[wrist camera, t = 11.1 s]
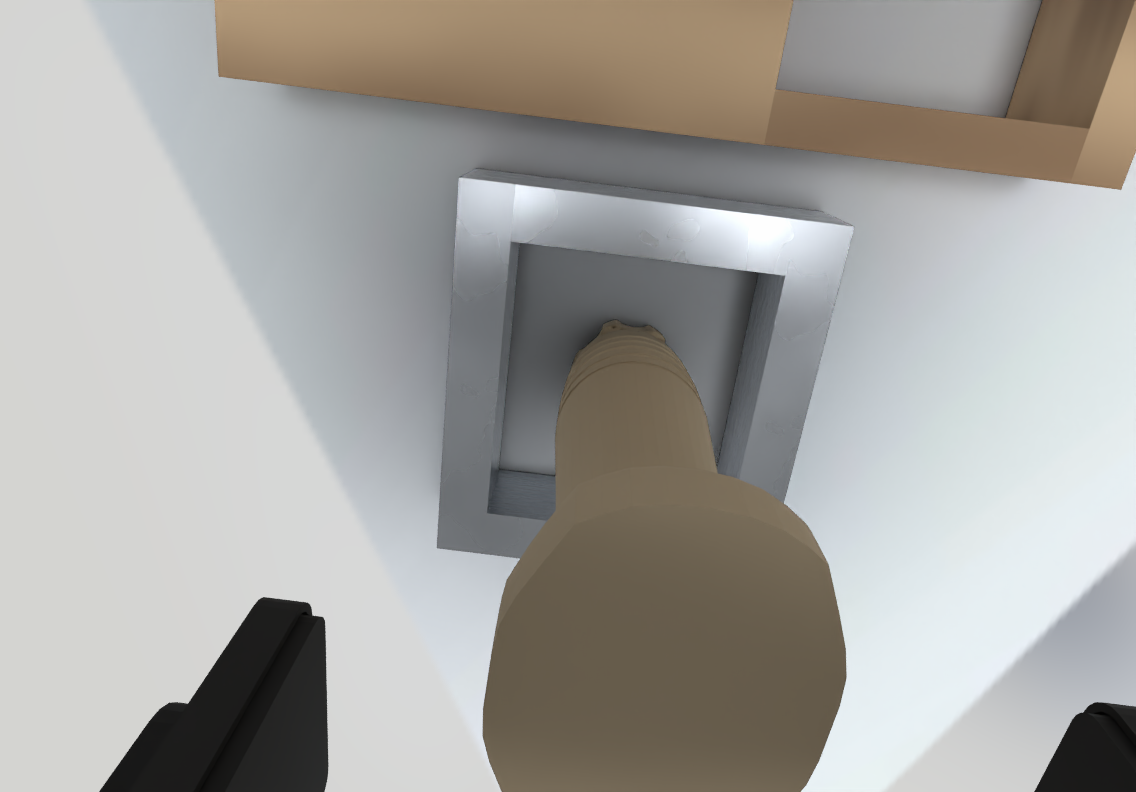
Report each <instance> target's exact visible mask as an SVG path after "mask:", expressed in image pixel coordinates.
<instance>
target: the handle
mask: <svg viewBox="0 0 1136 792" xmlns="http://www.w3.org/2000/svg"><path fill="white" fill-rule="evenodd" d="M555 475H556V511H555V512H554V513H553V515H552V516H551V517H550V518H549V519H548V521H547V522H546V523H545V524H544V526H543V527H542V528H541V530H540V531H539V532H538V534H537V535H536V537H535V538H534V539H533V541H532V542H531V543H530V545H529V546H528V547H527V549H526V551H525V552H524V554H523V555H522V557H521V558H520V560H519V562H518V563H517V565H516V566H515V568H514V569H513V571H512V573H511V574H510V576H509V577H508V579H507V581H506V585H505V588H504V592H503V595H502V599H501V604H500V609H499V614H498V620H497V625H496V631H495V637H494V643H493V648H492V654H491V660H490V667H489V674H488V680H487V687H486V693H485V700H484V707H483V739H484V743H485V747H486V751H487V755H488V759H489V762H490V764H491V767H492V769H493V772H494V774H495V777H496V779H497V781H498V784H499V786H500V789H501V791H502V792H801V790H802V789H803V788H804V787H805V786H806V784H807V783H808V781H809V779H810V777H811V775H812V773H813V771H814V769H815V767H816V765H817V764H818V762H819V759H820V757H821V754H822V752H823V749H824V746H825V744H826V741H827V738H828V736H829V733H830V730H831V728H832V725H833V722H834V720H835V717H836V714H837V712H838V709H839V707H840V703H841V698H842V694H843V690H844V686H845V682H846V648H845V643H844V637H843V632H842V626H841V621H840V615H839V610H838V606H837V601H836V597H835V592H834V587H833V583H832V578H831V574H830V569H829V565H828V563H827V561H826V559H825V557H824V555H823V553H822V551H821V549H820V547H819V545H818V543H817V541H816V540H815V538H814V536H813V534H812V532H811V530H810V529H809V527H808V526H807V525H806V523H805V522H804V521H803V520H802V519H801V518H799V517H798V516H797V515H796V514H795V513H794V512H793V511H792V510H791V509H790V508H789V507H787V506H786V505H785V504H784V503H782V502H781V501H779V500H778V499H776V498H775V497H773V496H772V495H771V494H769V493H768V492H766V491H765V490H763V489H761V488H759V487H756V486H754V485H751V484H749V483H747V482H744V481H742V480H739V479H737V478H734V477H731V476H727V475H722V474H718V472H717V467H716V462H715V457H714V452H713V447H712V442H711V436H710V431H709V426H708V421H707V417H706V414H705V411H704V408H703V406H702V403H701V400H700V397H699V395H698V392H697V389H696V387H695V385H694V383H693V381H692V379H691V377H690V375H689V374H688V372H687V370H686V368H685V367H684V365H683V363H682V362H681V360H680V359H679V358H678V357H677V355H676V354H675V353H674V352H673V351H672V349H670V348H669V347H668V346H667V345H666V344H665V338H664V337H663V335H662V334H661V333H660V332H659V331H658V330H656V329H655V328H653V327H652V326H650V325H647V326H645V327H631V326H627V325H624V324H622V323H620V321H619V320H613V321H609V322H607V323H604V324H603V326H602V330H601V332H600V333H599V335H598V336H597V337H596V339H594V340H593V341H592V342H590V343H589V344H588V345H587V346H586V347H585V348H584V349H580V350H579V351H578V353H577V354H576V356H575V358H574V360H573V363H572V367H571V370H570V373H569V375H568V377H567V380H566V383H565V387H564V390H563V394H562V398H561V402H560V407H559V412H558V418H557V425H556V434H555Z"/></svg>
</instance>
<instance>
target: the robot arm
mask: <svg viewBox="0 0 1136 792" xmlns="http://www.w3.org/2000/svg"><path fill="white" fill-rule="evenodd" d="M326 686H327V685H326V640H325V620H324V618H323V617H318V616H312V609H311V606H310V604H308V603H306V602H298V601H290V600H282V599H274V598H265V597H263V598H261V599H259V600H258V601H257V603H256V604H255V605H254V606H253V608H252V609H251V611H250V612H249V614H248V615H247V617H246V618H245V620H244V621H243V623H242V624H241V626H240V627H239V629H238V630H237V632H236V633H235V635H234V636H233V638H232V639H231V641H230V642H229V644H228V645H227V647H226V648H225V650H224V651H223V653H222V654H221V655H220V657H219V658H218V660H217V661H216V663H215V665H214V666H213V668H212V669H211V670H210V672H209V673H208V675H207V676H206V678H205V679H204V681H203V682H202V684H201V685H200V687H199V688H198V690H197V691H196V693H195V694H194V696H193V697H192V699H191V701H190V702H189V703H188V704H185V703H178V702H175V703H168V704H167V705H165V706H164V707H162V708H161V709H159V711H158V712H157V713H156V714H155V715H154V716H153V718H152V719H151V720H150V721H149V723H148V724H147V725H146V727H145V728H144V730H143V731H142V732H141V734H140V735H139V737H138V738H137V739H136V741H135V742H134V744H133V745H132V746H131V748H130V749H129V751H128V752H127V754H126V755H125V756H124V758H123V759H122V760H121V762H120V763H119V765H118V766H117V767H116V769H115V770H114V772H113V773H112V775H111V776H110V777H109V779H108V780H107V782H106V783H105V784H104V786H103V787H102V788H101V790H100V792H324V791H325V787H326V782H327V777H328V733H327V732H328V731H327V687H326ZM1035 792H1136V707H1134V706H1126V705H1118V704H1110V703H1098V702H1097V703H1093V704H1091V705H1089V706H1088V707H1087V709H1086V710H1085V711H1084V712H1083V713H1079V714H1077V715H1076V716H1075V717H1074V719H1073V720H1072V722H1071V723H1070V725H1069V727H1068V729H1067V731H1066V733H1065V735H1064V737H1063V738H1062V741H1061V742H1060V744H1059V746H1058V748H1057V750H1056V752H1055V754H1054V756H1053V758H1052V759H1051V761H1050V763H1049V765H1048V767H1047V769H1046V771H1045V773H1044V775H1043V776H1042V778H1041V780H1040V782H1039V784H1038V786H1037V788H1036V790H1035Z"/></svg>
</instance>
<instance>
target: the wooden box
mask: <svg viewBox="0 0 1136 792" xmlns="http://www.w3.org/2000/svg"><path fill="white" fill-rule="evenodd" d="M792 5H793V0H215V17H216V36H217V54H218V73H219V77H226V78H234V79H242V80H250V81H258V82H266V83H274V84H282V85H290V86H298V87H306V88H314V89H322V90H330V91H338V92H346V93H354V94H362V95H370V96H378V97H386V98H394V99H402V100H410V101H418V102H426V103H434V104H442V105H450V106H458V107H466V108H474V109H482V110H490V111H498V112H506V113H514V114H522V115H530V116H538V117H546V118H554V119H562V120H569V121H577V122H585V123H593V124H601V125H609V126H617V127H625V128H633V129H641V130H649V131H657V132H665V133H673V134H681V135H689V136H697V137H705V138H713V139H721V140H729V141H737V142H745V143H753V144H761V145H769V146H777V147H785V148H793V149H801V150H809V151H817V152H825V153H833V154H841V155H849V156H857V157H865V158H873V159H881V160H889V161H897V162H905V163H913V164H921V165H929V166H937V167H945V168H953V169H960V170H968V171H976V172H984V173H992V174H1000V175H1008V176H1016V177H1024V178H1032V179H1040V180H1048V181H1056V182H1064V183H1072V184H1080V185H1088V186H1096V187H1104V188H1112V189H1120V190H1121V189H1122V186H1123V183H1124V181H1125V178H1126V175H1127V173H1128V170H1129V168H1130V165H1131V162H1132V160H1133V157H1134V155H1135V152H1136V0H1042V3H1041V7H1040V10H1039V13H1038V16H1037V19H1036V22H1035V26H1034V29H1033V32H1032V35H1031V38H1030V41H1029V45H1028V48H1027V51H1026V54H1025V57H1024V61H1023V64H1022V67H1021V70H1020V73H1019V76H1018V80H1017V83H1016V86H1015V89H1014V92H1013V95H1012V99H1011V102H1010V105H1009V108H1008V111H1007V115H1006V118H999V117H991V116H983V115H976V114H968V113H960V112H952V111H944V110H936V109H928V108H920V107H912V106H904V105H896V104H888V103H880V102H872V101H864V100H856V99H848V98H840V97H832V96H825V95H817V94H809V93H801V92H793V91H785V90H777V89H775V88H776V84H777V79H778V74H779V69H780V64H781V59H782V54H783V49H784V44H785V39H786V35H787V30H788V25H789V20H790V15H791V10H792Z"/></svg>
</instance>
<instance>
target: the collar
mask: <svg viewBox="0 0 1136 792" xmlns="http://www.w3.org/2000/svg"><path fill="white" fill-rule="evenodd" d="M853 231H854V226H852V225H850V224H848V223H846V222H844V221H842V220H839V219H837V218H835V217H833V216H831V215H829V214H827V213H825V212H822V211H814V210H806V209H798V208H790V207H782V206H774V205H766V204H758V203H750V202H742V201H734V200H726V199H718V198H710V197H702V196H694V195H686V194H678V193H670V192H662V191H654V190H646V189H638V188H630V187H622V186H614V185H606V184H598V183H590V182H582V181H574V180H566V179H558V178H550V177H542V176H534V175H526V174H518V173H510V172H502V171H494V170H486V169H478V168H476V169H474V170H472V171H470V172H468V173H466V174H464V175H463V176H461V177H459V184H458V201H457V217H456V234H455V251H454V268H453V285H452V301H451V318H450V335H449V352H448V369H447V386H446V402H445V419H444V436H443V453H442V470H441V486H440V503H439V520H438V537H437V548H440V549H448V550H456V551H464V552H473V553H481V554H489V555H497V556H506V557H514V558H521V557H522V555H523V554H524V552H525V551H526V549H527V547H528V546H529V545H530V543H531V542H532V541H533V539H534V538H535V537H536V535H537V534H538V532H539V531H540V530H541V528H542V527H543V526H544V524H545V523H546V522H547V521H548V519H549V518H550V517H551V516H552V515H553V513H554V512H555V511H556V476H550V475H542V474H533V473H525V472H517V471H509V470H501V469H499V464H500V453H501V442H502V431H503V420H504V409H505V398H506V387H507V376H508V366H509V355H510V344H511V333H512V322H513V311H514V300H515V289H516V278H517V268H518V257H519V246H520V243H527V244H535V245H543V246H551V247H559V248H567V249H575V250H583V251H591V252H599V253H607V254H615V255H623V256H631V257H639V258H648V259H656V260H664V261H672V262H680V263H688V264H696V265H704V266H712V267H720V268H728V269H736V270H744V271H752V272H759V274H758V279H757V283H756V288H755V293H754V297H753V302H752V307H751V311H750V316H749V321H748V325H747V330H746V335H745V339H744V344H743V349H742V353H741V358H740V363H739V367H738V372H737V377H736V381H735V386H734V391H733V395H732V400H731V405H730V409H729V414H728V419H727V423H726V428H725V433H724V437H723V442H722V447H721V451H720V456H719V461H718V465H717V472H718V474H722V475H727V476H731V477H734V478H737V479H739V480H742V481H744V482H747V483H749V484H751V485H754V486H756V487H759V488H761V489H763V490H765V491H766V492H768V493H769V494H771V495H772V496H773V497H775V498H776V499H778V500H779V501H781V502H782V503H784V500H785V496H786V492H787V488H788V484H789V480H790V476H791V473H792V469H793V465H794V461H795V457H796V453H797V449H798V445H799V441H800V438H801V434H802V430H803V426H804V422H805V418H806V414H807V410H808V406H809V402H810V399H811V395H812V391H813V387H814V383H815V379H816V375H817V371H818V367H819V364H820V360H821V356H822V352H823V348H824V344H825V340H826V336H827V332H828V329H829V325H830V321H831V317H832V313H833V309H834V305H835V301H836V297H837V294H838V290H839V286H840V282H841V278H842V274H843V270H844V266H845V262H846V259H847V255H848V251H849V247H850V243H851V239H852V235H853Z"/></svg>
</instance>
